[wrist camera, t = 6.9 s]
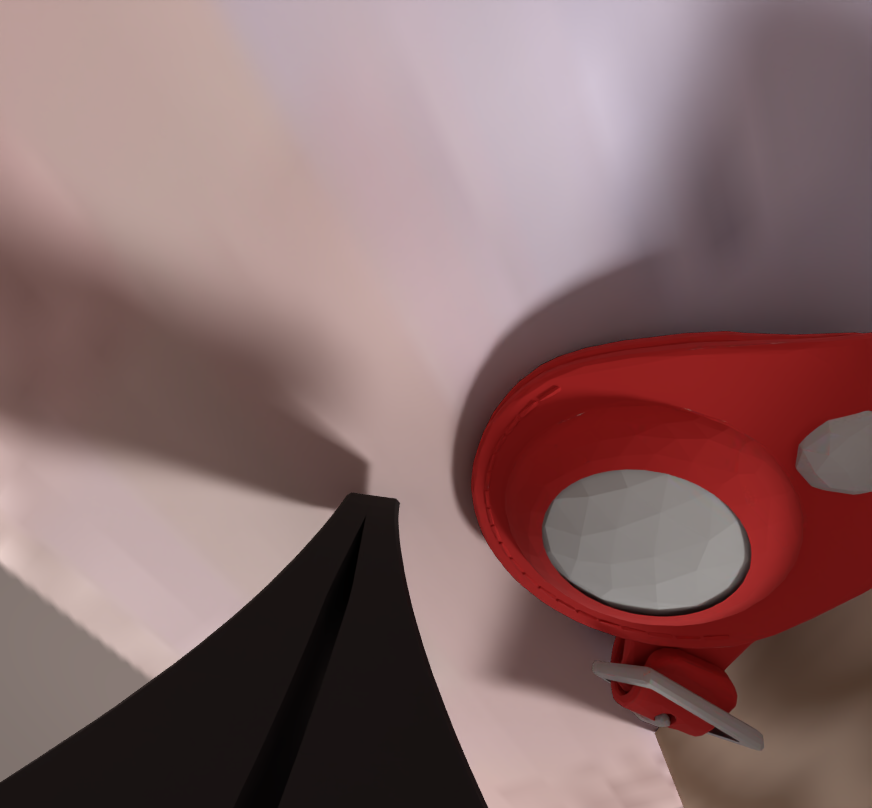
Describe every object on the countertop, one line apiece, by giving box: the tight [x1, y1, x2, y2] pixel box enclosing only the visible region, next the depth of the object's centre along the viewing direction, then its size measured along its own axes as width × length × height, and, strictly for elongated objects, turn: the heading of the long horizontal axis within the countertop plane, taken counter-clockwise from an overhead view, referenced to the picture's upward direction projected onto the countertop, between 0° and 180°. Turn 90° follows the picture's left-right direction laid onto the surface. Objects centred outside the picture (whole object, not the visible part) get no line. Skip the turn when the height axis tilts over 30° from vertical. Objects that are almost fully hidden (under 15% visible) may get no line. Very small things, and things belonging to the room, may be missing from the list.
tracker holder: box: [471, 331, 872, 751], centre depth 9 cm, size 12×4×10 cm
